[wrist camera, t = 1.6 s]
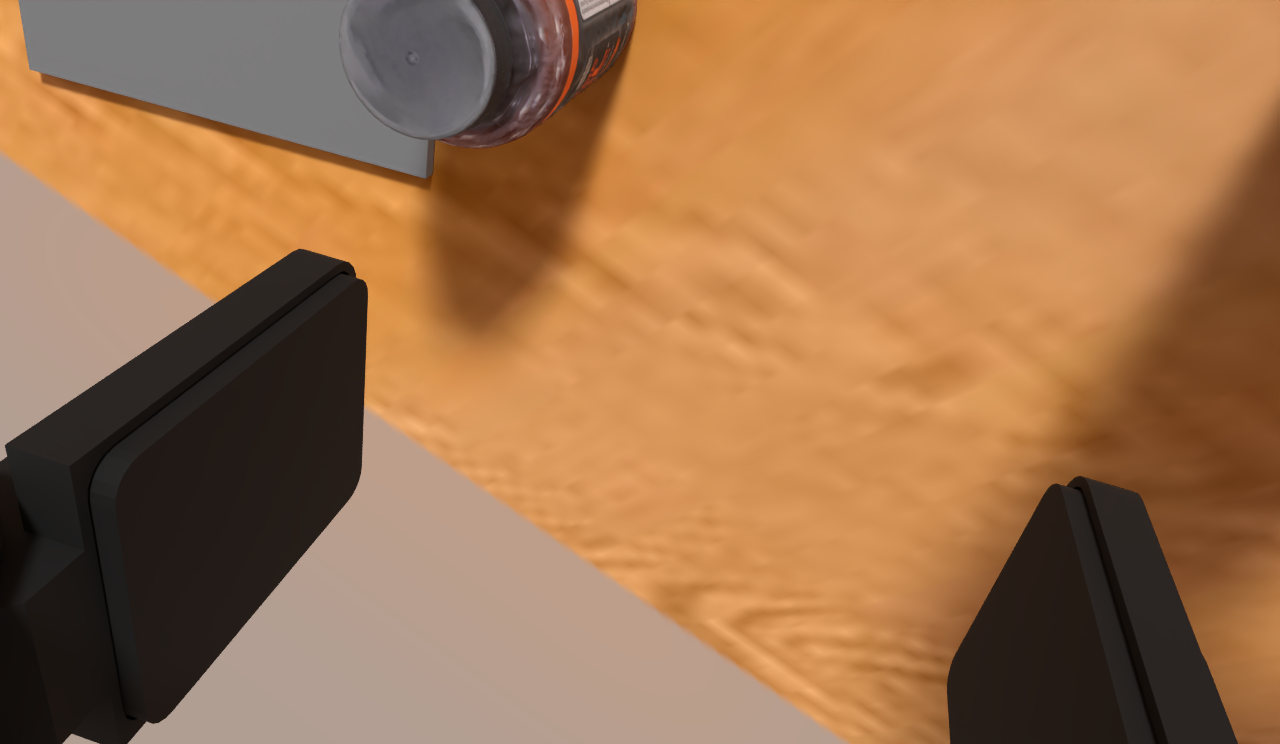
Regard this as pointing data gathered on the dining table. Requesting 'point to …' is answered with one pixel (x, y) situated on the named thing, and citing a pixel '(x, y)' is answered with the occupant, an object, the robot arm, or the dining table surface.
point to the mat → (223, 67)
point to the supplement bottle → (477, 62)
